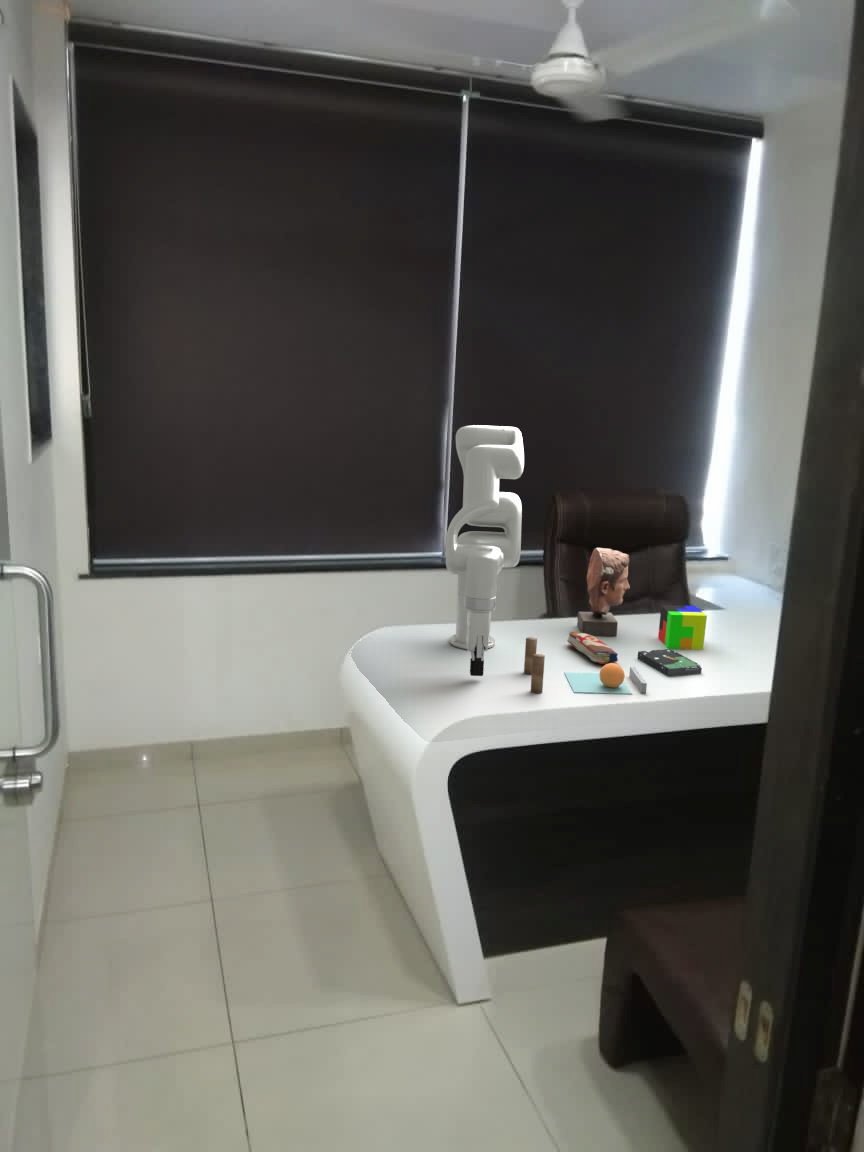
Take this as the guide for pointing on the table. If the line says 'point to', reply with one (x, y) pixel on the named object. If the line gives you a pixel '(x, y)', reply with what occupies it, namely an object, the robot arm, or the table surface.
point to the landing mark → (593, 684)
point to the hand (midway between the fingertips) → (476, 674)
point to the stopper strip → (638, 680)
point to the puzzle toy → (682, 627)
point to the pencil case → (592, 648)
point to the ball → (612, 675)
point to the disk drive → (669, 662)
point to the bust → (604, 591)
